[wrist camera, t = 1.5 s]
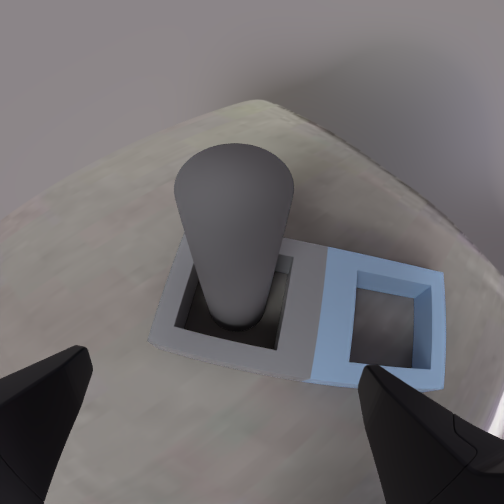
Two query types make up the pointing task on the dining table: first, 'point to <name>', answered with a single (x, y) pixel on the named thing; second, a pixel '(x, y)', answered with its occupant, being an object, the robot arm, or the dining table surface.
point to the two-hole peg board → (313, 317)
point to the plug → (234, 226)
